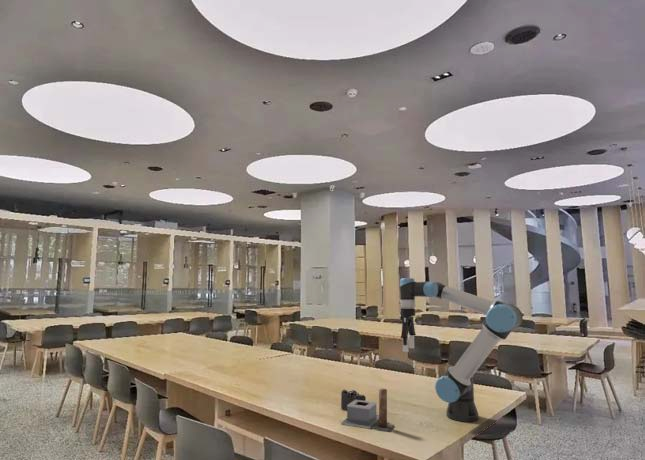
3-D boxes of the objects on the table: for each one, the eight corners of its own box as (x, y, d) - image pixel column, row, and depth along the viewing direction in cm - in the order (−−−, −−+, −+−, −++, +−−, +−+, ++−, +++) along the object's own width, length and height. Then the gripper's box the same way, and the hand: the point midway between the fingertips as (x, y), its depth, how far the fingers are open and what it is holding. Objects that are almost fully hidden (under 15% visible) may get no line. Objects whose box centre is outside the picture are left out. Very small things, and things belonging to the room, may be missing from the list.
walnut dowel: (387, 425, 185) (387, 389, 187) (385, 428, 181) (385, 390, 184) (380, 424, 186) (380, 388, 188) (378, 426, 183) (378, 389, 185)
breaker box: (381, 417, 198) (381, 400, 199) (370, 428, 182) (369, 410, 183) (354, 413, 204) (354, 397, 205) (341, 424, 188) (341, 406, 189)
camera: (373, 410, 210) (373, 390, 212) (361, 415, 202) (361, 394, 203) (351, 405, 219) (350, 386, 220) (339, 409, 211) (339, 390, 212)
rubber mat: (394, 426, 186) (394, 424, 186) (389, 431, 178) (389, 430, 178) (377, 423, 189) (377, 422, 189) (372, 429, 182) (372, 427, 182)
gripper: (406, 306, 223) (407, 346, 220) (394, 308, 200) (395, 352, 197) (419, 307, 219) (421, 347, 216) (409, 309, 197) (410, 353, 194)
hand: (408, 350), depth 207 cm, fingers open, 13 cm apart
